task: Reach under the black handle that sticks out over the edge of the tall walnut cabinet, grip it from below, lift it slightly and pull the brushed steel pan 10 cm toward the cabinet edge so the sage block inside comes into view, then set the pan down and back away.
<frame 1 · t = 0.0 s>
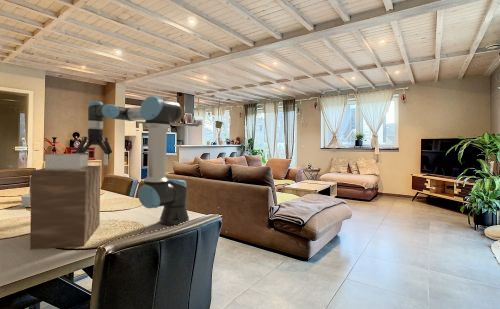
hand: (94, 165, 156), 28 cm above the table, tool pointing down, fingers open, 13 cm apart
fruit juice: (52, 199, 190), on the table
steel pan: (67, 168, 114), point 30 cm above the table, touching sage block, walnut cabinet
walnut cabinet: (69, 235, 119), on the table
ramekin: (34, 206, 169), on the table
sage block: (67, 164, 114), point 32 cm above the table, touching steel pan
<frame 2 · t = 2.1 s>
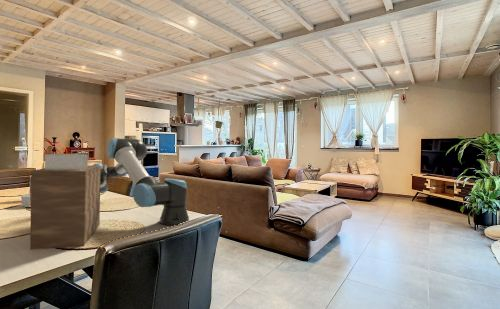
hand: (91, 166, 153), 28 cm above the table, tool pointing upward, fingers open, 13 cm apart
nothing on the table moved.
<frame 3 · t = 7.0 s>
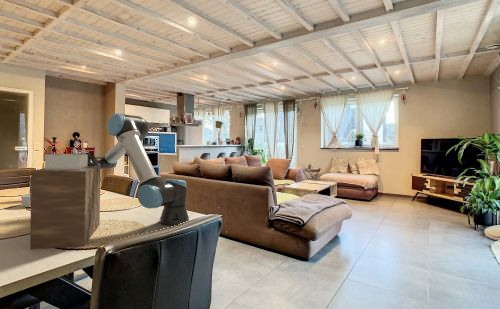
hand: (78, 150, 128), 37 cm above the table, tool pointing upward, fingers closed on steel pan, 3 cm apart
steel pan: (67, 168, 114), point 30 cm above the table, touching gripper, sage block, walnut cabinet
everything else where it was.
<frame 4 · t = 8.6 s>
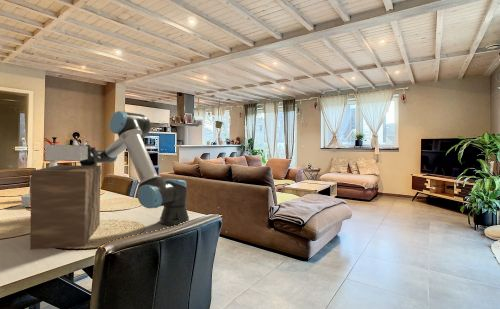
hand: (78, 142, 128), 41 cm above the table, tool pointing upward, fingers closed on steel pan, 3 cm apart
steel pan: (67, 159, 114), point 34 cm above the table, touching gripper, sage block
sage block: (67, 154, 114), point 36 cm above the table, touching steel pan
everything else where it was.
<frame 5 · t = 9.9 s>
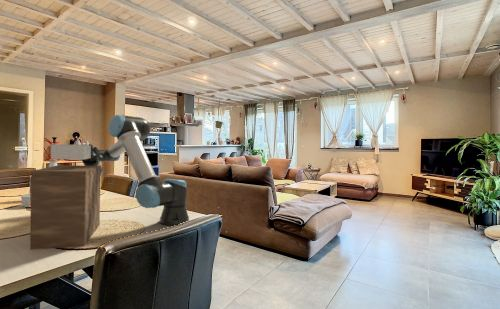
hand: (81, 141, 134), 42 cm above the table, tool pointing upward, fingers closed on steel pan, 3 cm apart
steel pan: (72, 158, 120), point 34 cm above the table, touching gripper, sage block
sage block: (72, 154, 120), point 36 cm above the table, touching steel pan
everything else where it was.
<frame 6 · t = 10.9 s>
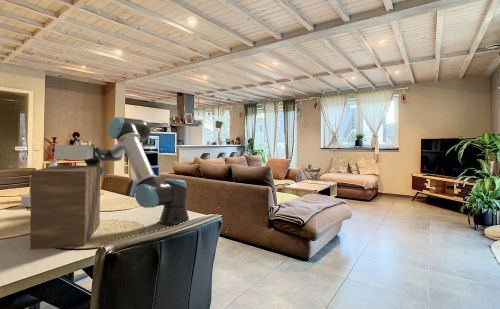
hand: (84, 142, 137), 41 cm above the table, tool pointing upward, fingers closed on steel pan, 3 cm apart
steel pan: (74, 158, 123), point 34 cm above the table, touching gripper, sage block
sage block: (75, 154, 123), point 36 cm above the table, touching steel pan
everything else where it was.
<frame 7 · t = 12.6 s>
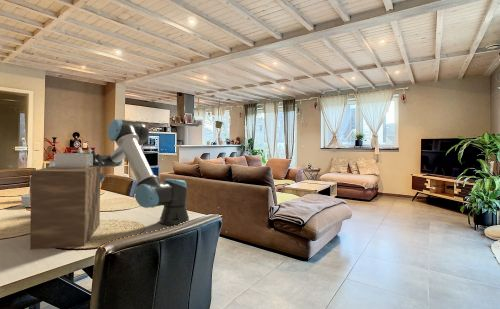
hand: (84, 149, 138), 38 cm above the table, tool pointing upward, fingers open, 4 cm apart
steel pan: (74, 166, 123), point 30 cm above the table, touching sage block, walnut cabinet
sage block: (74, 162, 123), point 32 cm above the table, touching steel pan
everything else where it was.
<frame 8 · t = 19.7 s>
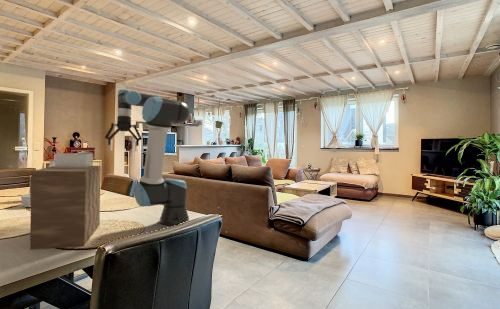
hand: (123, 151, 164), 37 cm above the table, tool pointing down, fingers open, 13 cm apart
nothing on the table moved.
at the end: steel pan moved 10.0 cm from its start; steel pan touching sage block, walnut cabinet; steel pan tilted 0° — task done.
